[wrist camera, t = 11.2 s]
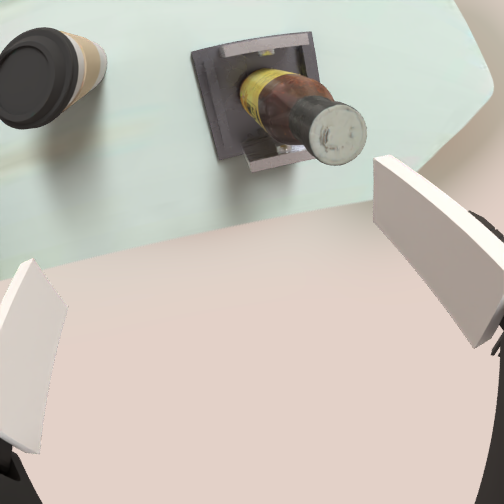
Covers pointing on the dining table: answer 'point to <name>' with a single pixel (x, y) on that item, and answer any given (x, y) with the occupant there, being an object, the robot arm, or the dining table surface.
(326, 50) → the dining table surface
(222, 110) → the clip holder
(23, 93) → the coffee cup
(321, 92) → the sauce bottle
